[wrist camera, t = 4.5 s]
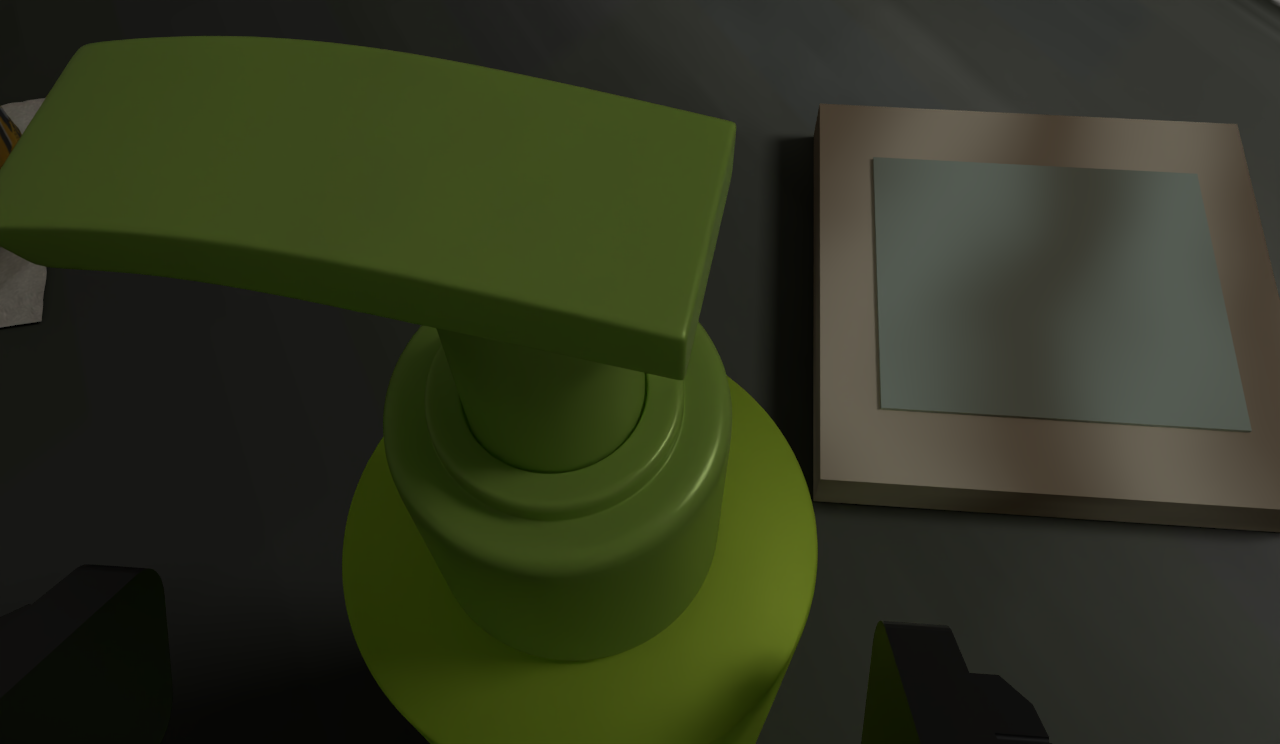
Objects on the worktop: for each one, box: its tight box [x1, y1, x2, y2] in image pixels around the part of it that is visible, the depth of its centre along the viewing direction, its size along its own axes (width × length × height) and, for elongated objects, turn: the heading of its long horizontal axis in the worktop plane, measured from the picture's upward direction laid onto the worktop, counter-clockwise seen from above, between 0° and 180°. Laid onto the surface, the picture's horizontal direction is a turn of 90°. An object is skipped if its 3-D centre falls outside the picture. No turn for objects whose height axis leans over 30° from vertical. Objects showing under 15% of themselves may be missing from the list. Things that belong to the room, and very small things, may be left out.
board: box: [813, 104, 1280, 532], centre depth 30 cm, size 12×12×2 cm
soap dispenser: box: [0, 36, 818, 744], centre depth 16 cm, size 6×7×20 cm
